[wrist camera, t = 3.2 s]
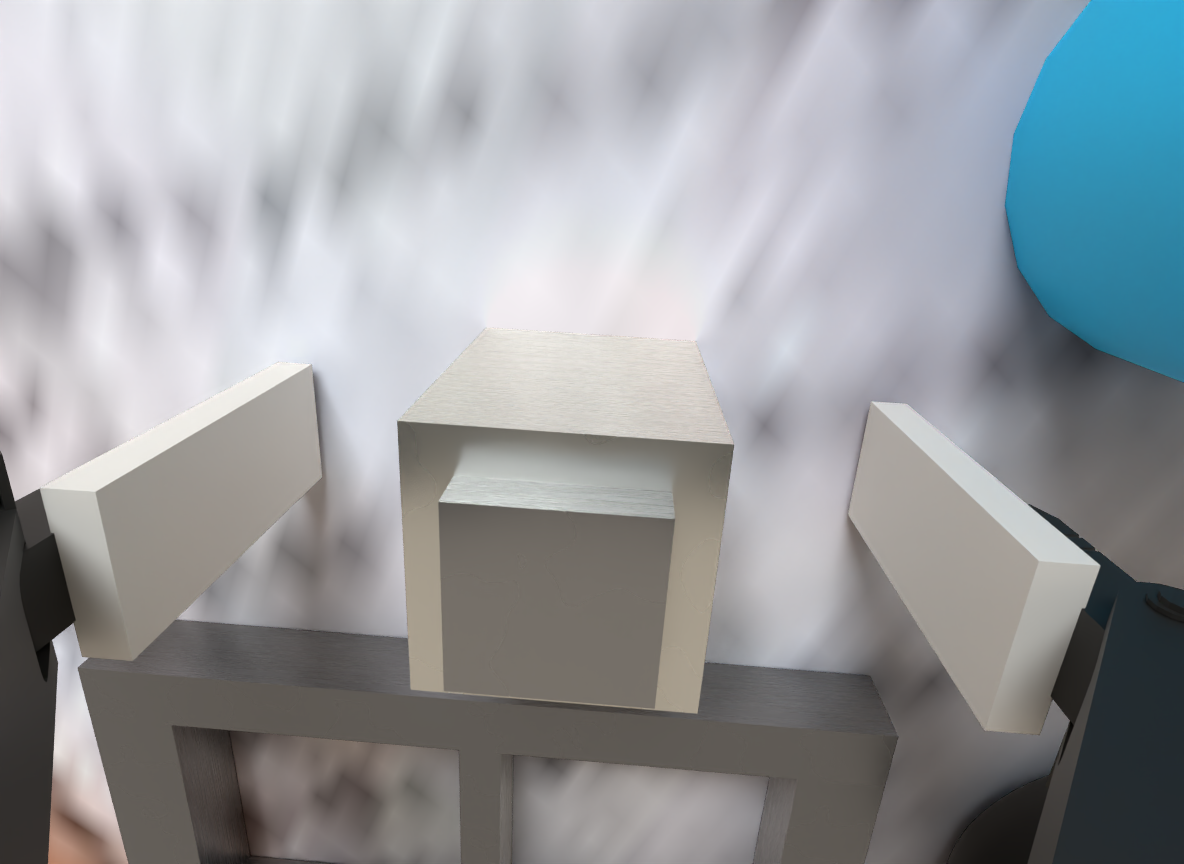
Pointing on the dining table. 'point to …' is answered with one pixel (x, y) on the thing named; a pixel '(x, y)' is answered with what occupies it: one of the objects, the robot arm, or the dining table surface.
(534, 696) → the beige square peg
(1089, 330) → the mug
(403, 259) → the dining table surface
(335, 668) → the grey window frame
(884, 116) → the dining table surface
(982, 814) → the mug
